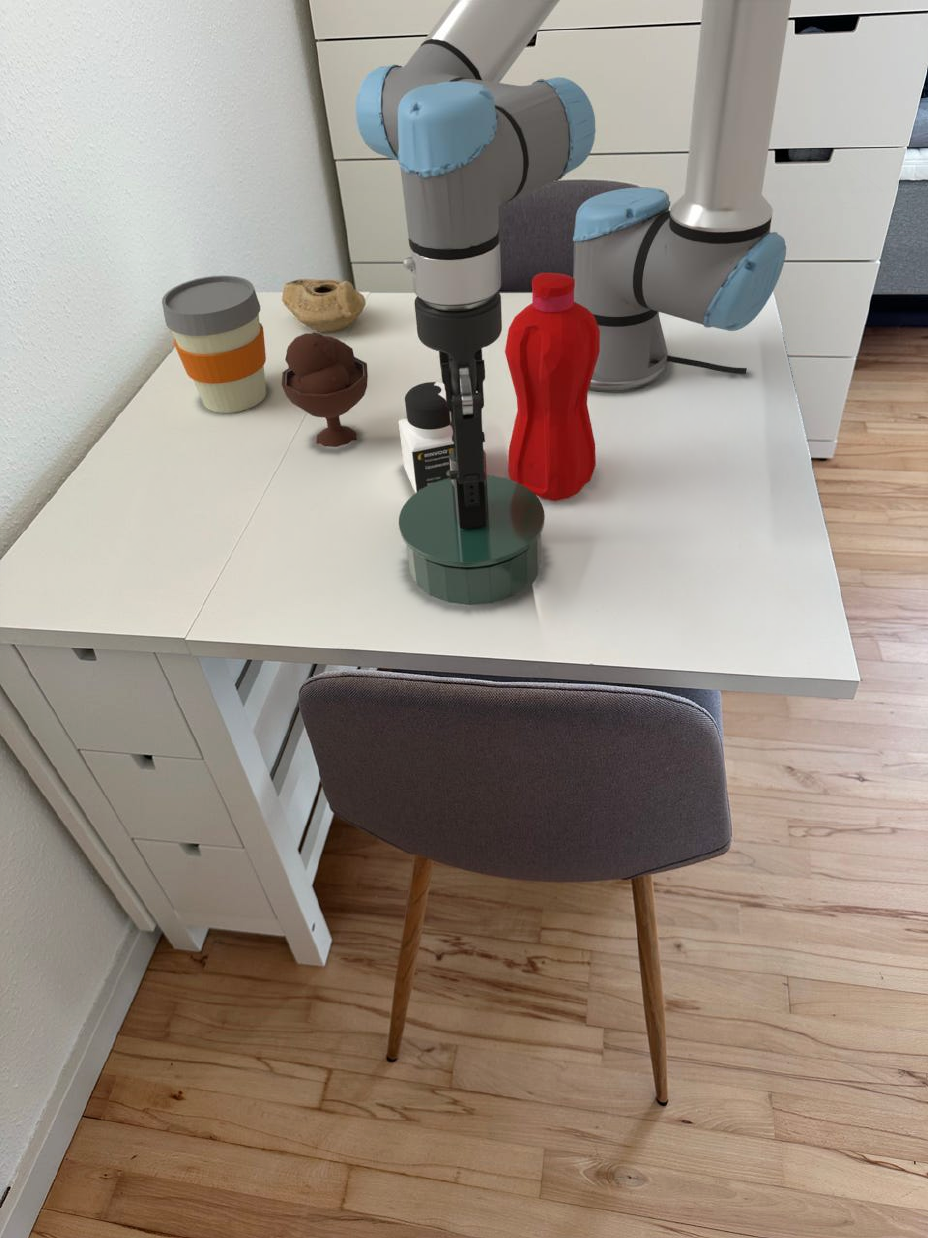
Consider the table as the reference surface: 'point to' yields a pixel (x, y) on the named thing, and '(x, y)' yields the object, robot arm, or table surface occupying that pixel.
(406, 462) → the medicine bottle
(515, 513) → the pot lid
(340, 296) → the oil lamp
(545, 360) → the water bottle
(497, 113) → the robot arm
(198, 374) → the reusable coffee cup
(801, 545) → the table surface
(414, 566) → the pot
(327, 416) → the ice cream bowl
